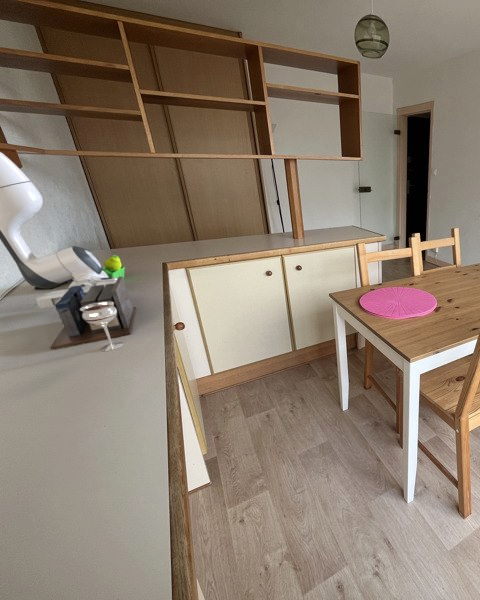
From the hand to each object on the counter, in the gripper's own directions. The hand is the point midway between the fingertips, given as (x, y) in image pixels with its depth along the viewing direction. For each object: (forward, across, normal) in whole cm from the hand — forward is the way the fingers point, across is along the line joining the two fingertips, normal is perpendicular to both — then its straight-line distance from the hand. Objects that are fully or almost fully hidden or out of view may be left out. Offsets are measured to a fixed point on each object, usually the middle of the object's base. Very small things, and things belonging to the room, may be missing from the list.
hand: (78, 302), depth 97 cm
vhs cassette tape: (+5, 0, +6) cm, 8 cm away
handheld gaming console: (-52, -16, +7) cm, 55 cm away
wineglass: (+24, +9, +7) cm, 27 cm away
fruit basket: (-47, +2, +7) cm, 47 cm away
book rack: (+7, +4, +6) cm, 11 cm away
